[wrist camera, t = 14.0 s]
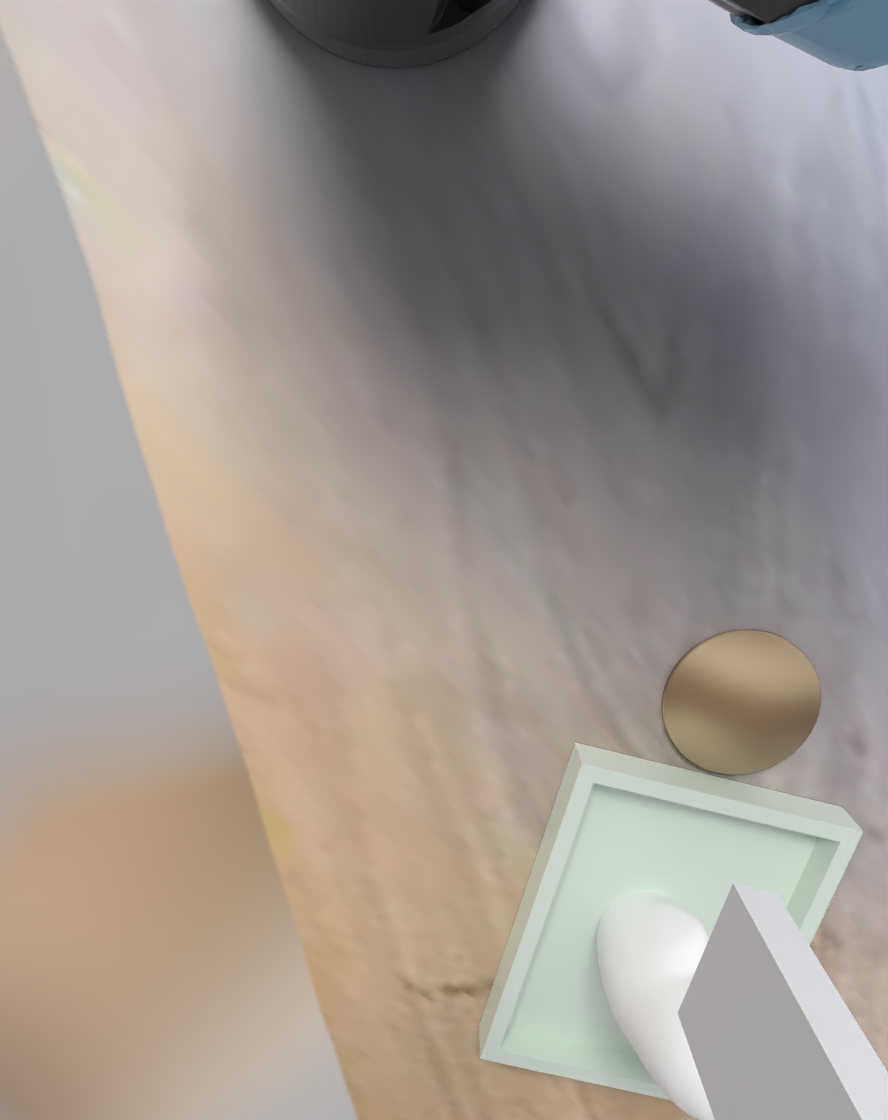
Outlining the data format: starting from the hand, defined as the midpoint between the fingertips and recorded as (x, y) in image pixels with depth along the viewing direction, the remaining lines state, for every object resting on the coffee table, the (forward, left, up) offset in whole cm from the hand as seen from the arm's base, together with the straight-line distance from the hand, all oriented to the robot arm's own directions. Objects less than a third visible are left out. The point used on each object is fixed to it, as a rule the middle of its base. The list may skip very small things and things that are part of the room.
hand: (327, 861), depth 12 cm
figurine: (+22, +21, -28) cm, 41 cm away
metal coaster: (+6, +21, -29) cm, 36 cm away
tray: (+22, +21, -29) cm, 42 cm away
